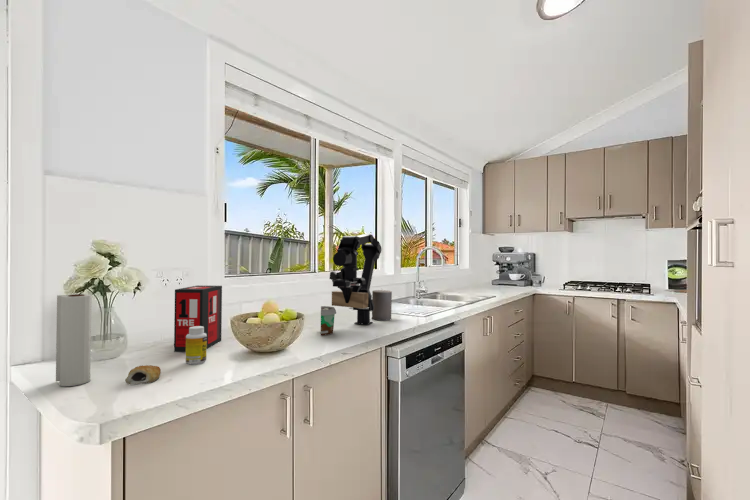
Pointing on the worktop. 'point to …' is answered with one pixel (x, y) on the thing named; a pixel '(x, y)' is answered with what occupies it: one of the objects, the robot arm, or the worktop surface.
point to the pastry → (143, 374)
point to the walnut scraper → (355, 299)
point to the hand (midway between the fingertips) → (349, 302)
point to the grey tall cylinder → (73, 339)
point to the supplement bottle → (196, 345)
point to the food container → (327, 320)
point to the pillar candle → (382, 304)
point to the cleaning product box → (197, 314)
